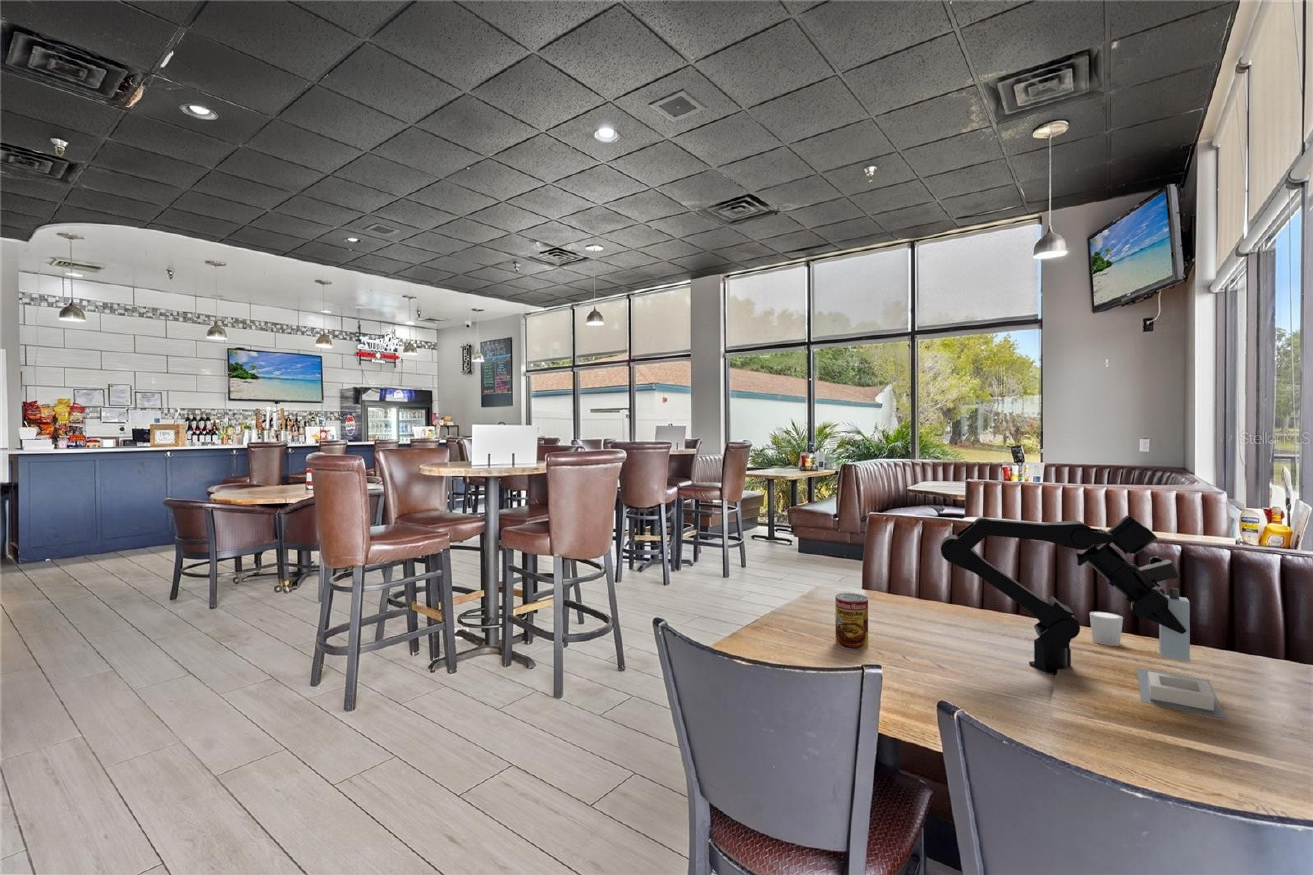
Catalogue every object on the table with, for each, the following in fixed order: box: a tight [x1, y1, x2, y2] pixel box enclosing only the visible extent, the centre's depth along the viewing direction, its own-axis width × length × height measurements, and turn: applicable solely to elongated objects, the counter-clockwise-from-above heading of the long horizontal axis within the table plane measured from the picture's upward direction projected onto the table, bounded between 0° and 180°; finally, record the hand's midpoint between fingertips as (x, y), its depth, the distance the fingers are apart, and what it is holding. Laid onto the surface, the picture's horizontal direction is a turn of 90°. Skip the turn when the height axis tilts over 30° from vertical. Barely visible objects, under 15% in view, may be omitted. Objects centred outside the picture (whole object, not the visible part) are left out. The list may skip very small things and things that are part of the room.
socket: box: [1148, 671, 1214, 714], centre depth 117 cm, size 9×9×3 cm
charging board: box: [1135, 667, 1227, 720], centre depth 121 cm, size 22×12×1 cm, turn 143°
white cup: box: [1089, 611, 1124, 647], centre depth 154 cm, size 7×7×7 cm
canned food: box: [835, 592, 869, 651], centre depth 152 cm, size 8×8×12 cm
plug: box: [1158, 587, 1191, 663], centre depth 125 cm, size 4×4×14 cm
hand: (1183, 629), depth 124 cm, fingers closed on plug, 4 cm apart
